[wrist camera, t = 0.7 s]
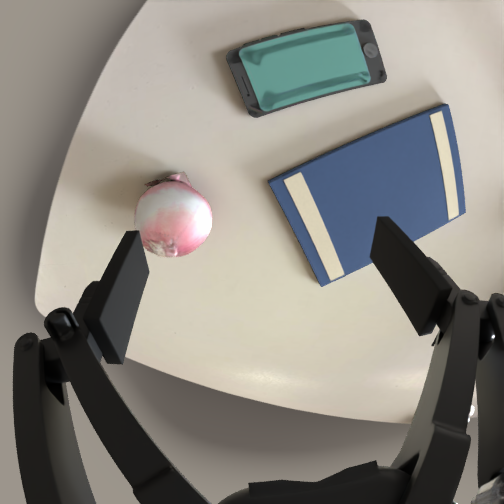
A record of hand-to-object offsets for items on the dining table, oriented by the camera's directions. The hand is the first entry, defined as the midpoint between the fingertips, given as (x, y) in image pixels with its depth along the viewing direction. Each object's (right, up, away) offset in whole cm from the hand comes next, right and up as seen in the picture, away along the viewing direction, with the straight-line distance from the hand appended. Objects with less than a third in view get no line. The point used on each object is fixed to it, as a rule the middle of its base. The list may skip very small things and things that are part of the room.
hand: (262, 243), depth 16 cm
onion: (-9, +5, +16) cm, 19 cm away
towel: (+15, +6, +17) cm, 24 cm away
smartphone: (+5, +18, +9) cm, 21 cm away
